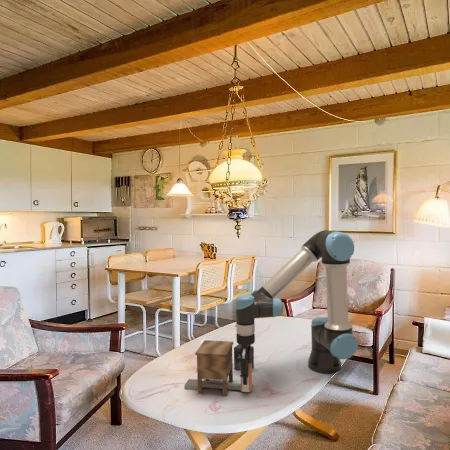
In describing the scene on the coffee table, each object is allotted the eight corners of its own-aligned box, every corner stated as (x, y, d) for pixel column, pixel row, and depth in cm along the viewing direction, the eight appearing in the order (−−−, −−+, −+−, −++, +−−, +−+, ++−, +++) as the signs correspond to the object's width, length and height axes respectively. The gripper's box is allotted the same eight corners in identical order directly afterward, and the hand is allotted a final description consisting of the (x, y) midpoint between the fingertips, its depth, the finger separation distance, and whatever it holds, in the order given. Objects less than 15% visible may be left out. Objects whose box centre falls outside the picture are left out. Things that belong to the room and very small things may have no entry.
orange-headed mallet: (252, 386, 164) (251, 363, 163) (250, 392, 159) (250, 368, 159) (201, 383, 168) (200, 360, 167) (198, 388, 164) (198, 364, 163)
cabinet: (234, 380, 172) (233, 341, 171) (227, 396, 157) (226, 354, 156) (205, 378, 174) (204, 340, 173) (196, 394, 160) (195, 352, 159)
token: (202, 384, 169) (202, 380, 169) (198, 391, 163) (198, 386, 163) (188, 383, 170) (188, 379, 170) (184, 389, 165) (184, 385, 164)
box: (233, 369, 183) (233, 347, 182) (239, 365, 188) (239, 343, 187) (249, 372, 179) (248, 350, 178) (254, 368, 184) (253, 346, 183)
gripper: (239, 326, 170) (240, 378, 171) (232, 340, 153) (233, 398, 154) (257, 326, 168) (257, 379, 170) (251, 341, 151) (252, 399, 152)
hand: (246, 388), depth 162 cm, fingers closed on orange-headed mallet, 4 cm apart
